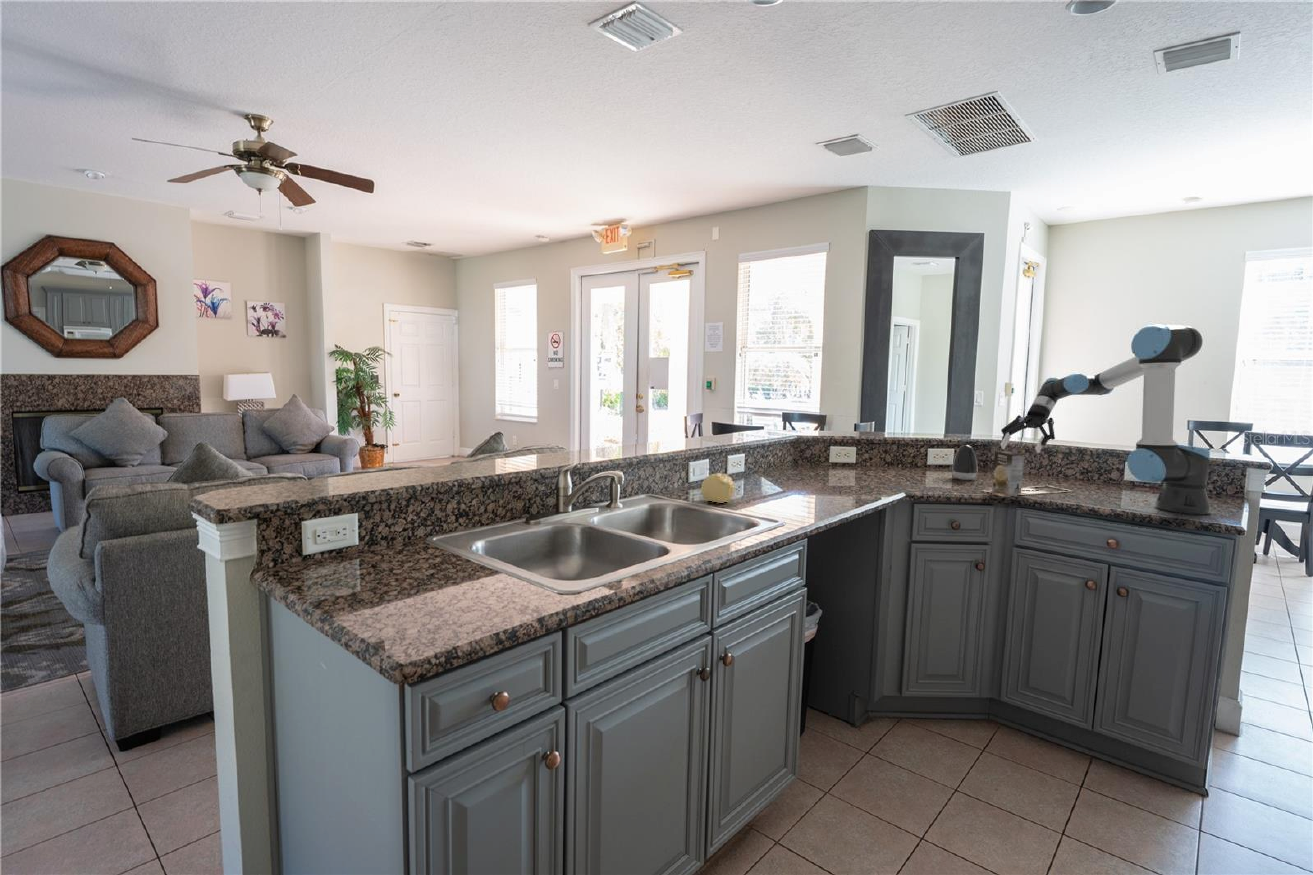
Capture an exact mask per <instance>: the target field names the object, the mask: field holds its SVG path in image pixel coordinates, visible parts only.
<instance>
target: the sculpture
mask: <svg viewBox="0 0 1313 875" xmlns="http://www.w3.org/2000/svg"><path fill="white" fill-rule="evenodd" d="M734 482H735V481H733V478H732V477H730V476H728V474H727V473H722V472H721V473H720V472H716V473H713V474H710V475H708V476H706V477H705V478H704V480H703V482H702V484H701V489H700V490H701V491H700V492H701V495H702V499H703V500H704V499H706V500H709V501H713V502H723V503H724V502H727V503H729V502H730V501H731V500H732V499H733V497H734V495H735V490H736V488H735V483H734ZM713 502H712V503H713ZM724 504H725V503H724Z"/></svg>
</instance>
